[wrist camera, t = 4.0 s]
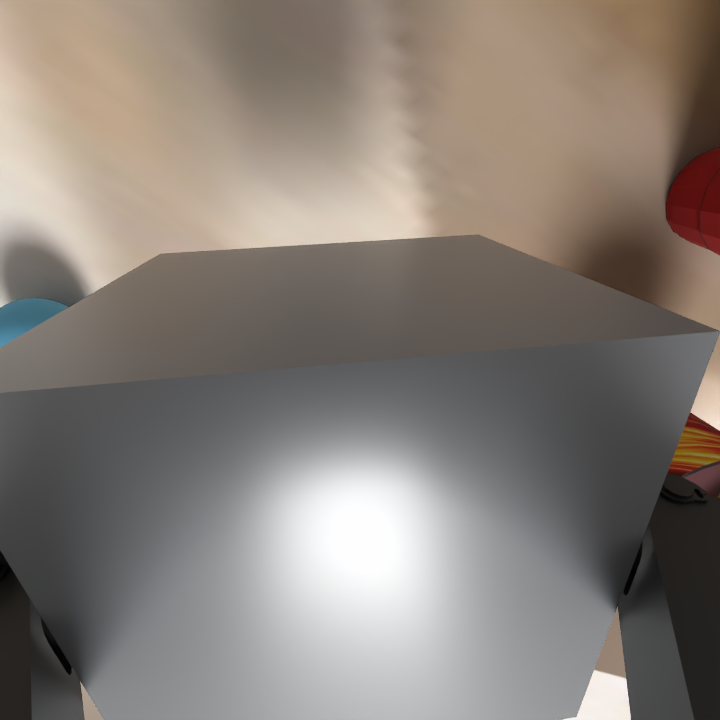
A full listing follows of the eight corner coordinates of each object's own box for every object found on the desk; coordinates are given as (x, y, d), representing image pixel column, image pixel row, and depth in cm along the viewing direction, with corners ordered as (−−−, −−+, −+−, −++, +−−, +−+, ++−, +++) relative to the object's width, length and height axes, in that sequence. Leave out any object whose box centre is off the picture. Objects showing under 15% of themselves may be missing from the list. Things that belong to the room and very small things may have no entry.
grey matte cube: (160, 253, 13) (-93, 400, 5) (478, 234, 13) (719, 331, 6) (221, 499, 17) (146, 788, 9) (458, 473, 18) (576, 716, 10)
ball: (5, 291, 25) (-62, 317, 20) (90, 285, 25) (43, 310, 21) (36, 364, 27) (-18, 402, 23) (114, 357, 27) (76, 394, 23)
